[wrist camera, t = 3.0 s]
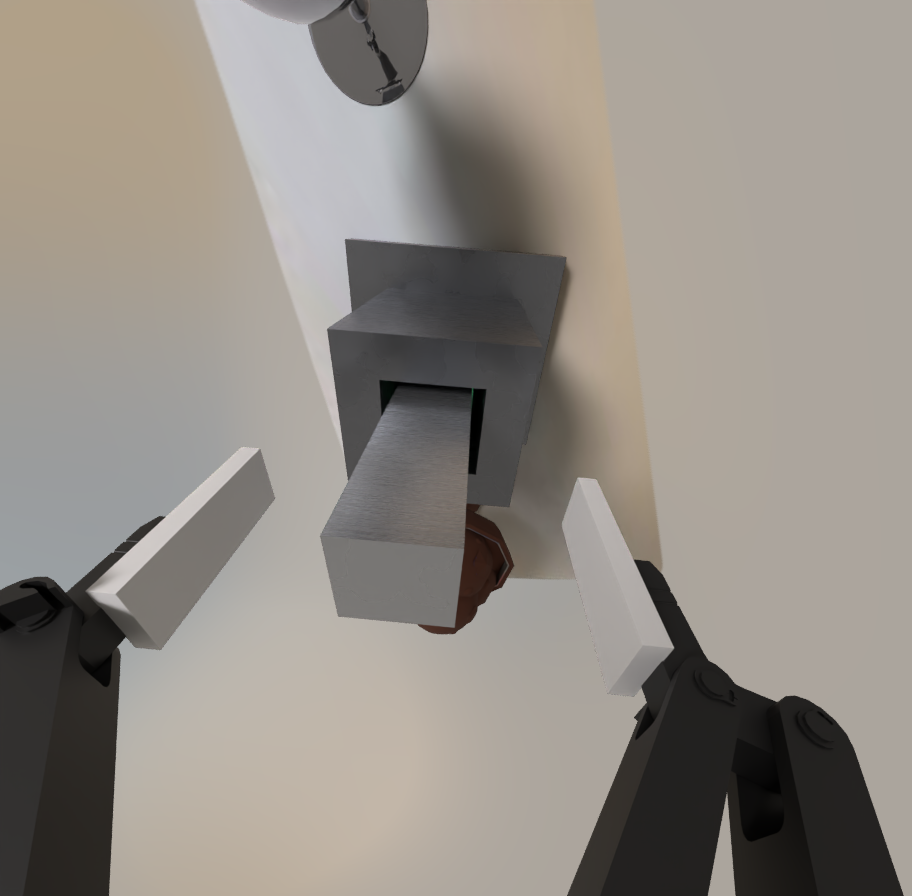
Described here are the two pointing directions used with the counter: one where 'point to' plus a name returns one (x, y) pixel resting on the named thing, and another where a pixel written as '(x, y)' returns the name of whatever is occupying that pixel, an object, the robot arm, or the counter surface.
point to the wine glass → (361, 41)
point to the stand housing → (447, 344)
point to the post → (405, 512)
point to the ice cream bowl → (478, 568)
